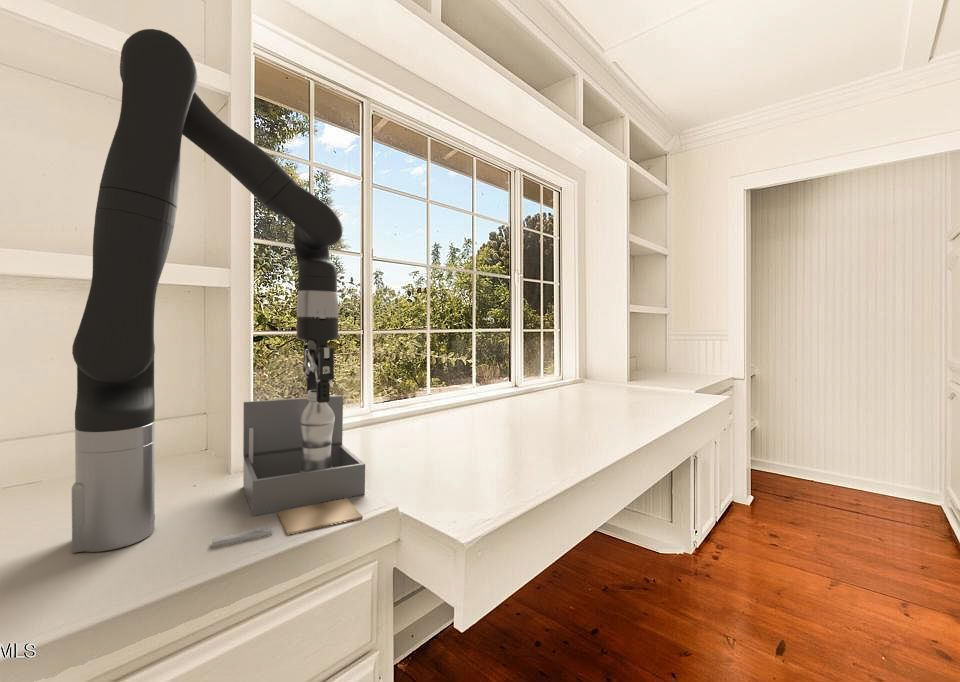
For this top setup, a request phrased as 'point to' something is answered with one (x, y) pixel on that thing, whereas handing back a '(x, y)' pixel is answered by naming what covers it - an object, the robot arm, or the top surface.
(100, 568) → the top surface
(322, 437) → the plastic bottle
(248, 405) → the case
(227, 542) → the rod
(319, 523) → the cork pad
